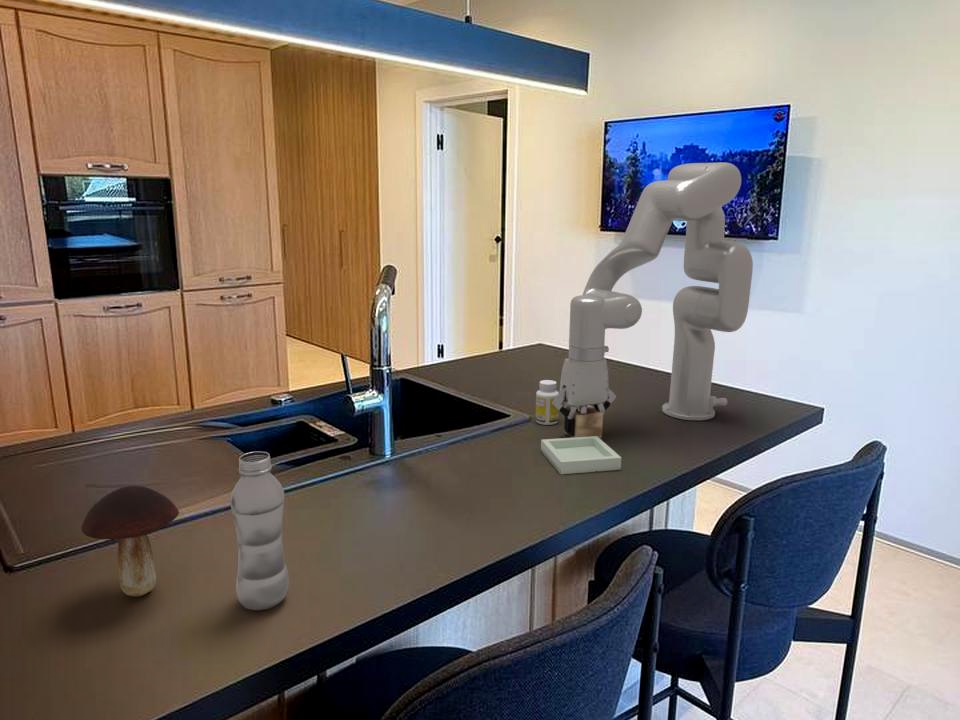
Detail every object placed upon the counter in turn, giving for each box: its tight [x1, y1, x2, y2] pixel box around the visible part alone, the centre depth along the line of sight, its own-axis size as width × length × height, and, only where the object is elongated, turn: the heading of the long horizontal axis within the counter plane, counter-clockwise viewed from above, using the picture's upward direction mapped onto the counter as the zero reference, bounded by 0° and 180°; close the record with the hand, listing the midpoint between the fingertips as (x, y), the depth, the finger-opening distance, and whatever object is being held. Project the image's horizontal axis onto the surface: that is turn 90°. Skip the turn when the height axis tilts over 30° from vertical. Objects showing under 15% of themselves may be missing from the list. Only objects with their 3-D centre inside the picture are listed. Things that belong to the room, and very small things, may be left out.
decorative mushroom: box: [80, 485, 180, 598], centre depth 86 cm, size 11×11×15 cm
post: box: [578, 405, 587, 415], centre depth 146 cm, size 2×2×10 cm
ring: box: [564, 405, 604, 439], centre depth 147 cm, size 6×8×6 cm
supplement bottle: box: [535, 379, 560, 426], centre depth 157 cm, size 5×5×10 cm
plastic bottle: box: [229, 450, 290, 611], centre depth 84 cm, size 6×7×20 cm
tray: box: [540, 436, 622, 475], centre depth 135 cm, size 12×12×2 cm
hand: (583, 431), depth 147 cm, fingers closed on ring, 6 cm apart
